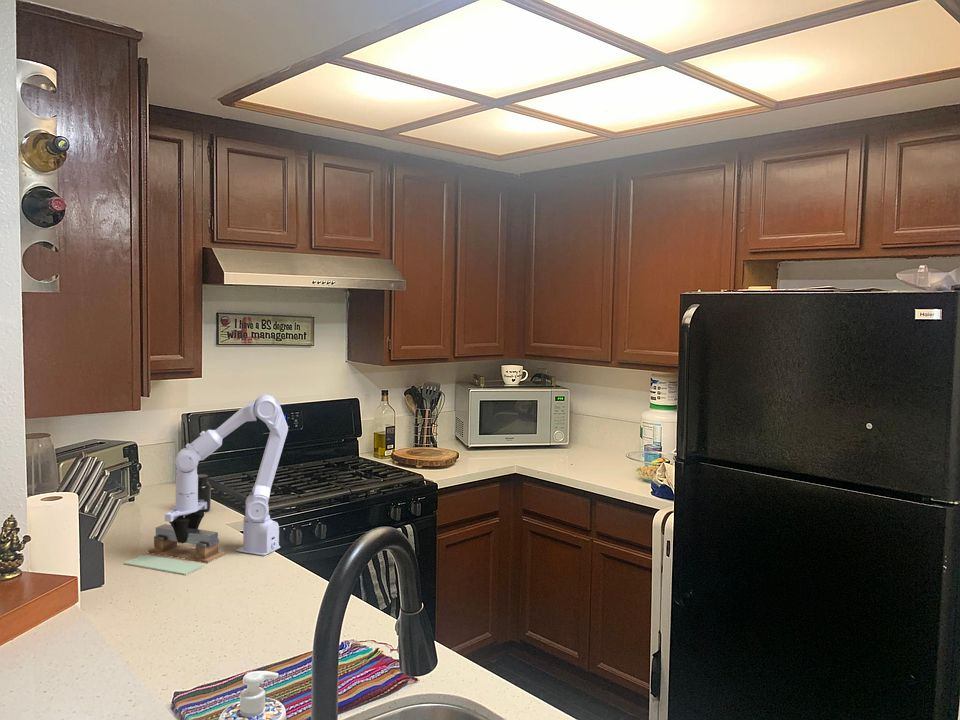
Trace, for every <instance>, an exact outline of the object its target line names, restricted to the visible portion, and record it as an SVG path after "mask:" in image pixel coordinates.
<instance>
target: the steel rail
mask: <svg viewBox="0 0 960 720" xmlns="http://www.w3.org/2000/svg"><path fill="white" fill-rule="evenodd" d="M155 536H159V537H164V539H165V540H171V541H177V538H176V535H175V532H174V529H173V527H172V525H171V524H166V523H164V524H162V525H161V524H160V525H159V526H156V527H155ZM218 539H219V532H218V531H213V530H211V531H210V530H206V529H205V530H204V529H199V528H198V529H193V528H187V532H186V541H185V543H184V544H191V545H196V543H202V544H206V546H208V547H210V546H212V545H214V544H217V543H218Z"/></svg>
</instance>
